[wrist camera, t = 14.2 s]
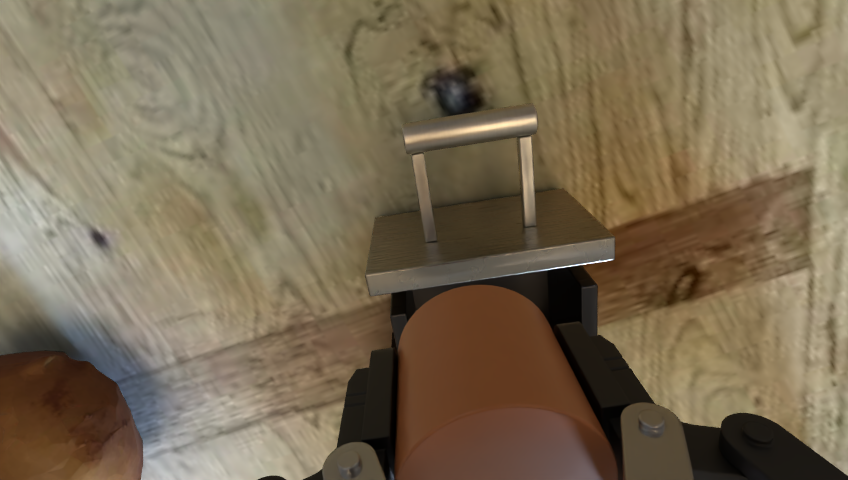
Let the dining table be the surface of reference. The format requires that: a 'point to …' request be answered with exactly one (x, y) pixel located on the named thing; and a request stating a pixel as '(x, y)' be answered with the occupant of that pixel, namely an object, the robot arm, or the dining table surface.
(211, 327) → the dining table surface
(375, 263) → the wooden drawer
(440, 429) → the copper tin
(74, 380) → the butternut squash
